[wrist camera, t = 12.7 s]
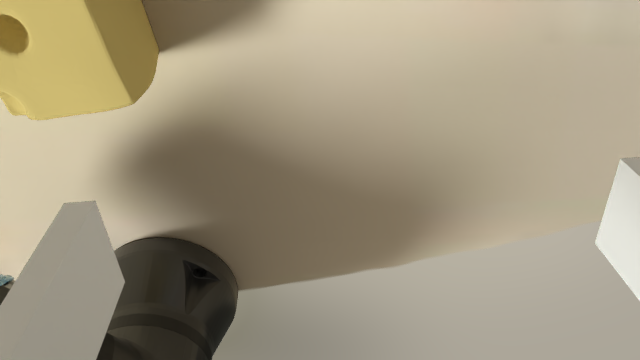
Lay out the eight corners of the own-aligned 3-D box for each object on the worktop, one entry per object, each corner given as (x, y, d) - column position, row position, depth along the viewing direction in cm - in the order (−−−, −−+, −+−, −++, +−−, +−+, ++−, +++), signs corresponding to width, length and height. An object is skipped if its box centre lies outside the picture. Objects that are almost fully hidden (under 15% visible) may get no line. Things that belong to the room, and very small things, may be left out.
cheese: (51, 80, 43) (-7, 138, 35) (-21, -56, 37) (-111, -25, 29) (169, 55, 43) (139, 108, 34) (115, -87, 37) (63, -66, 28)
